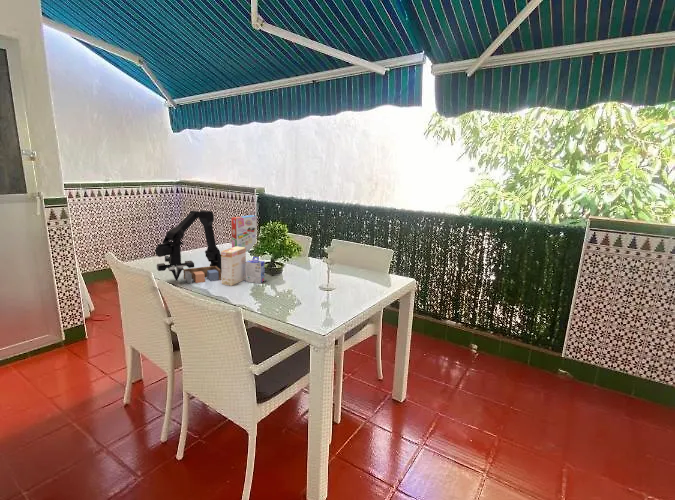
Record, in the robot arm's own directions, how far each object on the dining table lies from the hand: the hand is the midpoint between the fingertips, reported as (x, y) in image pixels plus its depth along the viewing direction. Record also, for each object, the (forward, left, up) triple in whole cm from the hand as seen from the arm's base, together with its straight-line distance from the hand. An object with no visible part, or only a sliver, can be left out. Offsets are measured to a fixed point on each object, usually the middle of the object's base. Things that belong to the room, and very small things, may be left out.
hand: (176, 280), depth 211 cm
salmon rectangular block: (-12, 0, -2) cm, 12 cm away
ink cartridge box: (-41, +15, -2) cm, 43 cm away
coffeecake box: (-30, +10, -2) cm, 31 cm away
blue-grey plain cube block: (-20, 0, -2) cm, 20 cm away
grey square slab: (-6, 0, -2) cm, 7 cm away
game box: (-63, -63, -2) cm, 89 cm away
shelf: (-15, -2, -2) cm, 15 cm away
